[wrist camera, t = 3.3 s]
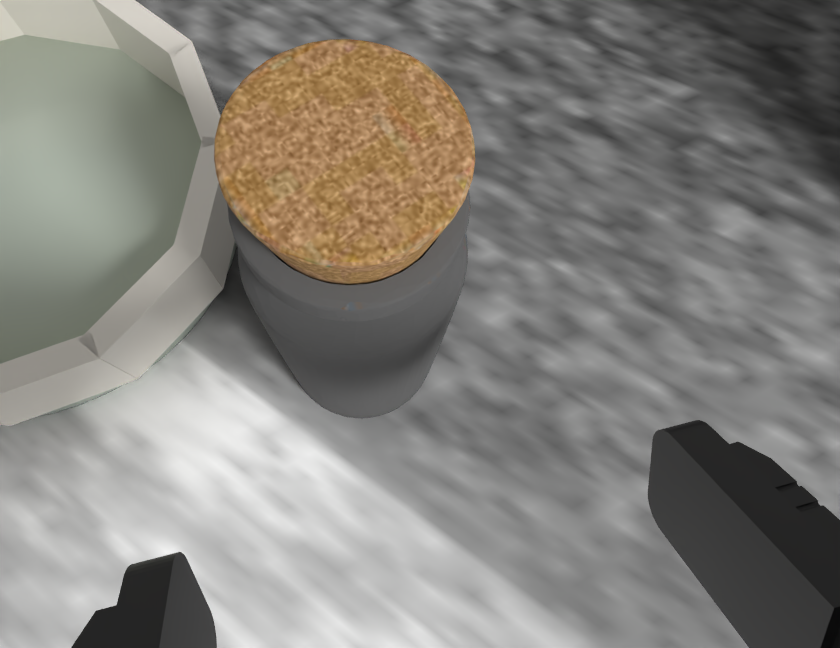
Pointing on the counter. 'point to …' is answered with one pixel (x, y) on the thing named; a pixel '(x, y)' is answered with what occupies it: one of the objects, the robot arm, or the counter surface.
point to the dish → (101, 199)
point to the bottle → (349, 215)
